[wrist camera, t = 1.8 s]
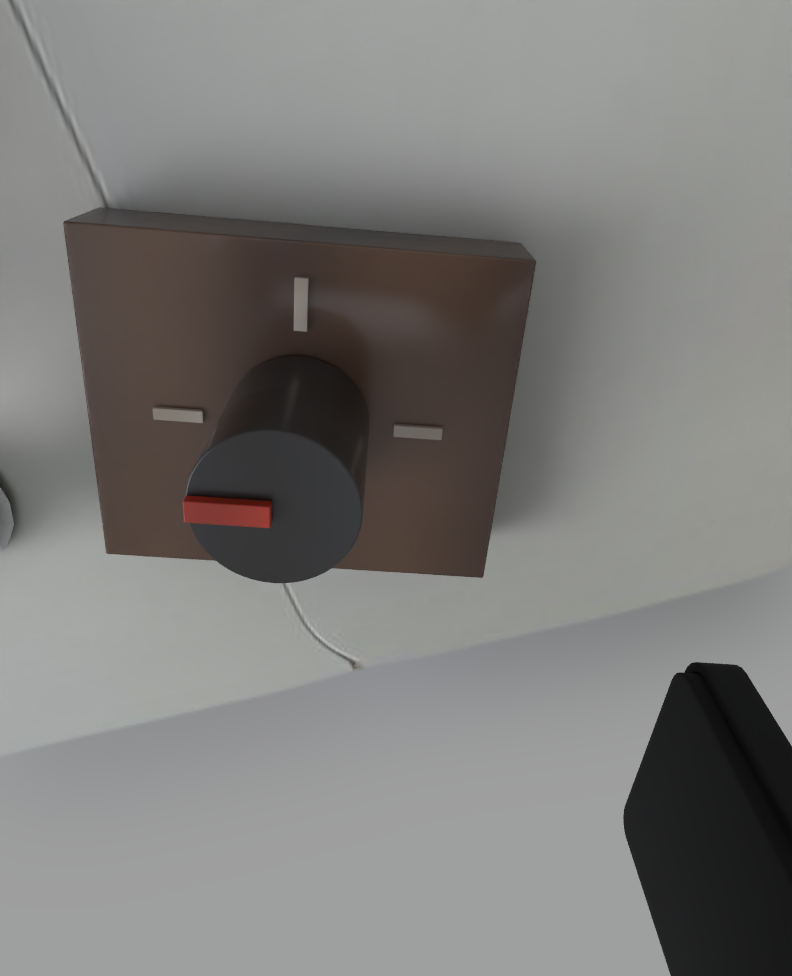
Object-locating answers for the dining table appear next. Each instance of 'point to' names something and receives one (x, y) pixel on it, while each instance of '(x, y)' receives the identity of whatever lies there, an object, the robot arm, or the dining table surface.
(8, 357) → the dining table surface
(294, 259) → the panel
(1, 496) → the rook chess piece
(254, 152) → the dining table surface
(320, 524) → the knob
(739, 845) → the robot arm
